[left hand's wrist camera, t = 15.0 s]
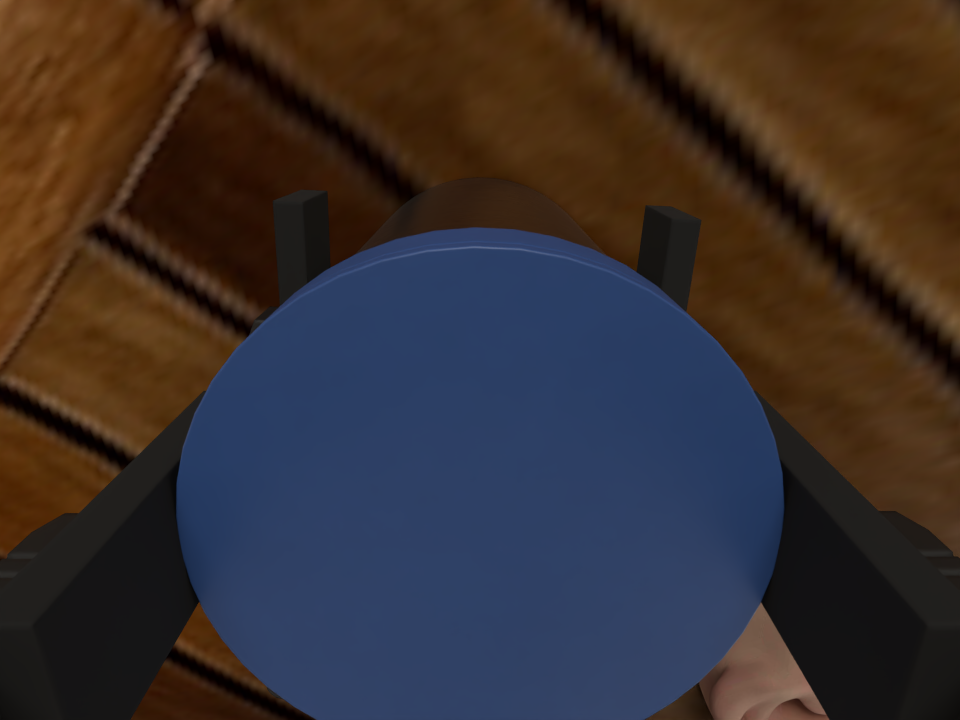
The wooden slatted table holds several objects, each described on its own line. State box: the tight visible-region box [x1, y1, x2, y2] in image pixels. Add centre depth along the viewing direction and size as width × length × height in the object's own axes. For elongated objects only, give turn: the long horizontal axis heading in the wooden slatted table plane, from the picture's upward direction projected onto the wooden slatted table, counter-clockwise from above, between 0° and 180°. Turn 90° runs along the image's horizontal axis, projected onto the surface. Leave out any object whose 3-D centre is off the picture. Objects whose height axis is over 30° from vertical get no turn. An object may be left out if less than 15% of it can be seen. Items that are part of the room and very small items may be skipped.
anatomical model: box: [699, 603, 829, 720], centre depth 29 cm, size 13×4×12 cm
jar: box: [355, 178, 605, 255], centre depth 18 cm, size 9×9×15 cm
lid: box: [176, 227, 784, 720], centre depth 11 cm, size 10×10×2 cm
